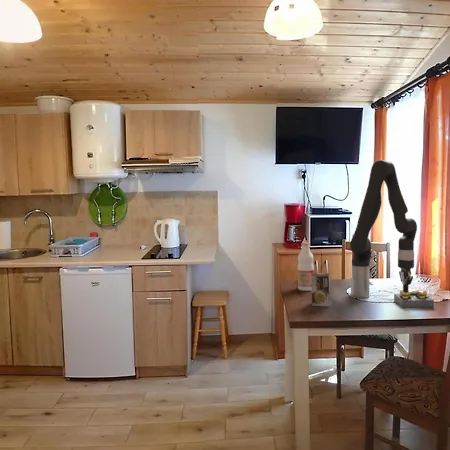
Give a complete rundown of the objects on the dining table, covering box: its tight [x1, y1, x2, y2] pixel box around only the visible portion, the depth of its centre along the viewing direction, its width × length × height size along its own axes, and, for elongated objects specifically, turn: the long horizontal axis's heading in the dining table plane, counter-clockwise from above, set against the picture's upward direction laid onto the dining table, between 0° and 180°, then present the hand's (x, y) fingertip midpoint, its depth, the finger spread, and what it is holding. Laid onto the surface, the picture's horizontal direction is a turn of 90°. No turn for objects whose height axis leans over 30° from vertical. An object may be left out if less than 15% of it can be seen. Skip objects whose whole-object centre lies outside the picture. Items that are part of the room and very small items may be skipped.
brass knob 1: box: [399, 289, 411, 298], centre depth 206 cm, size 5×5×7 cm
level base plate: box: [393, 290, 435, 309], centre depth 206 cm, size 15×12×6 cm
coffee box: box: [311, 272, 331, 307], centre depth 210 cm, size 9×6×16 cm
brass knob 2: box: [415, 289, 428, 298], centre depth 205 cm, size 5×5×7 cm
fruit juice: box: [297, 241, 315, 292], centre depth 240 cm, size 9×9×28 cm
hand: (405, 291), depth 205 cm, fingers closed
